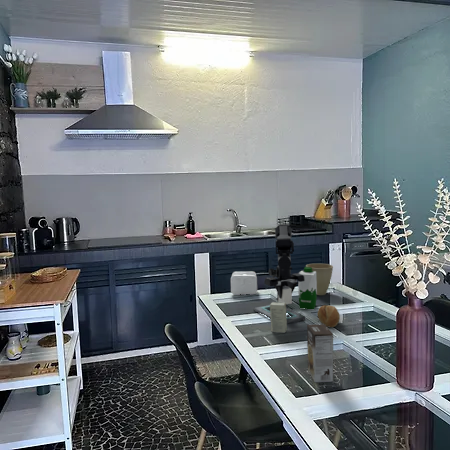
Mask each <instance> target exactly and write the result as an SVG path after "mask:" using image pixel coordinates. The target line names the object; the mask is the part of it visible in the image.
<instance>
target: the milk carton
mask: <svg viewBox="0 0 450 450" xmlns="http://www.w3.org/2000/svg"><path fill="white" fill-rule="evenodd" d="M298 273H299V274H302V275H303V276H304V277H305V281H302V282H299V281H298V280H297V282H298V284H297V285H298V286H297V287H298V288H297V289H298V307H300V308H305V309H304V310H308V309H315V308H316V306H317V300H318V299H317V297H318V295H317V280H316V271H312V268H311V267H306V266H305V267H303V270H301V271H299V272H298ZM300 308H299V309H300Z"/></svg>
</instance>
